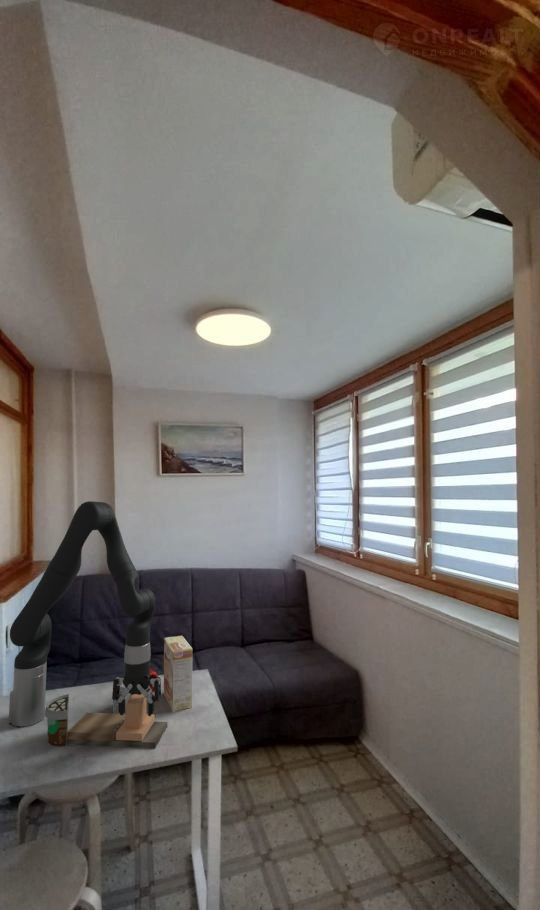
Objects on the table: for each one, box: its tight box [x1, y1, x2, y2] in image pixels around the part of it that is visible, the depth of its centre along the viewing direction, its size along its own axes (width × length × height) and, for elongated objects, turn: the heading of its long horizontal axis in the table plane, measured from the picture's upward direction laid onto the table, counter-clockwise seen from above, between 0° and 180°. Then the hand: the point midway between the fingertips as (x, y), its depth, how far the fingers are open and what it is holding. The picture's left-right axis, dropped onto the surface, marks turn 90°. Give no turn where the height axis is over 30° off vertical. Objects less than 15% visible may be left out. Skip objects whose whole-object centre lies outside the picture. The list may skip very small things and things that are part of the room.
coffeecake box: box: [163, 635, 193, 713], centre depth 150 cm, size 15×7×20 cm, turn 25°
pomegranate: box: [146, 667, 159, 692], centre depth 157 cm, size 10×10×9 cm
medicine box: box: [112, 683, 133, 714], centre depth 144 cm, size 8×4×9 cm, turn 168°
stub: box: [116, 694, 156, 741], centre depth 128 cm, size 8×11×9 cm
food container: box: [44, 693, 70, 747], centre depth 126 cm, size 12×6×10 cm, turn 23°
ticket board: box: [66, 712, 168, 749], centre depth 128 cm, size 26×11×4 cm, turn 86°
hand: (136, 714), depth 128 cm, fingers open, 8 cm apart
